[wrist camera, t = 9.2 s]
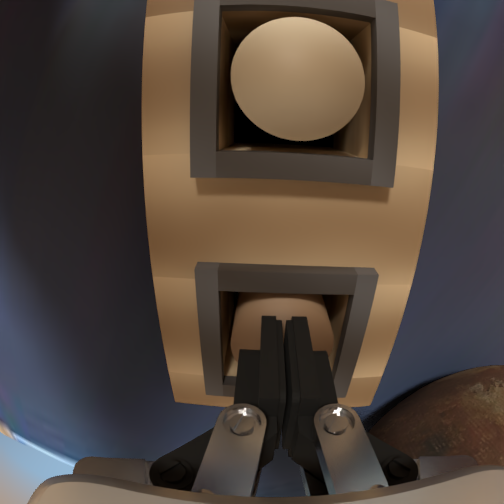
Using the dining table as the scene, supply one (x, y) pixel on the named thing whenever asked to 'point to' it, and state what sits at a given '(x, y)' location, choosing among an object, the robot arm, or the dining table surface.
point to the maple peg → (297, 79)
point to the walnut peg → (279, 318)
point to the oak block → (284, 188)
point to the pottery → (451, 418)
